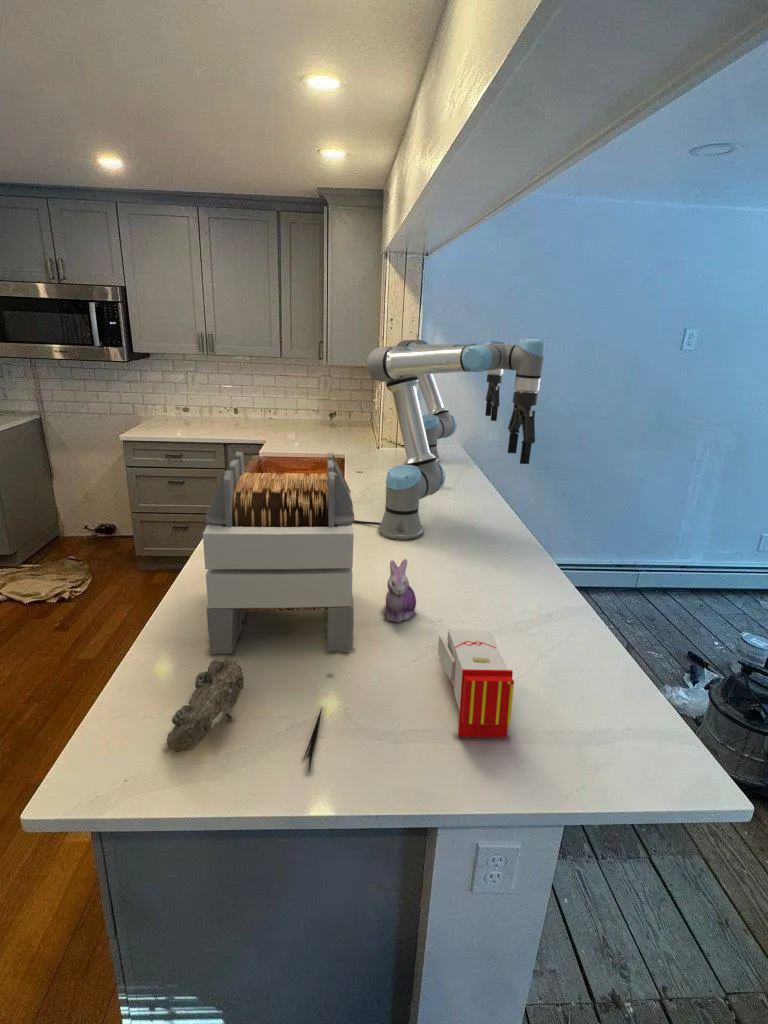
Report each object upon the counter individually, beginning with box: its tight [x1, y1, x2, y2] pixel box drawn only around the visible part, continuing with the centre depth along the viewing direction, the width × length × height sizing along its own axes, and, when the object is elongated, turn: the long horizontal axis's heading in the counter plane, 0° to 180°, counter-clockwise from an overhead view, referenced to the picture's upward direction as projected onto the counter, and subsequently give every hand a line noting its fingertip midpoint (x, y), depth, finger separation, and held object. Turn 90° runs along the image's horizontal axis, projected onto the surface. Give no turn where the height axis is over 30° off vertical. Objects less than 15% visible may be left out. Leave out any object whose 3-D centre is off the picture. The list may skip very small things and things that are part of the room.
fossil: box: [166, 658, 245, 754], centre depth 106 cm, size 22×10×15 cm
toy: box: [437, 628, 515, 738], centre depth 117 cm, size 12×13×30 cm
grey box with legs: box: [202, 451, 355, 655], centre depth 137 cm, size 34×33×41 cm
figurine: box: [384, 558, 417, 623], centre depth 145 cm, size 9×10×15 cm
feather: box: [301, 673, 332, 771], centre depth 108 cm, size 2×28×2 cm
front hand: (517, 458), depth 182 cm, fingers open, 13 cm apart
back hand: (490, 418), depth 281 cm, fingers open, 13 cm apart
